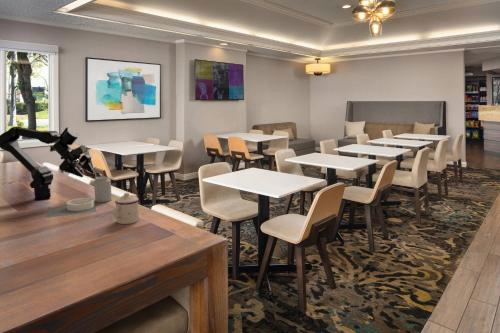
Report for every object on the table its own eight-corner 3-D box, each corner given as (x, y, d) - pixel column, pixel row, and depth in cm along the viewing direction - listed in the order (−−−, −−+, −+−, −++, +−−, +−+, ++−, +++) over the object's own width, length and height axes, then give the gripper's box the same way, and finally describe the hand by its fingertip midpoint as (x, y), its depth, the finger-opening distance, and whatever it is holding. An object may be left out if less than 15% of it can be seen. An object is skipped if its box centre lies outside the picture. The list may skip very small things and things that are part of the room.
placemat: (47, 218, 157) (47, 217, 157) (48, 208, 171) (48, 207, 171) (96, 212, 165) (96, 211, 165) (94, 203, 179) (94, 202, 179)
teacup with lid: (127, 216, 160) (126, 189, 158) (144, 219, 156) (143, 191, 154) (105, 224, 149) (103, 196, 147) (123, 228, 145) (121, 198, 143)
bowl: (67, 212, 164) (66, 205, 163) (67, 206, 174) (66, 199, 173) (95, 209, 168) (94, 202, 168) (93, 203, 178) (92, 197, 178)
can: (106, 203, 179) (104, 179, 177) (92, 203, 180) (90, 178, 178) (114, 199, 186) (113, 176, 184) (101, 199, 187) (99, 175, 185)
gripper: (62, 142, 171) (87, 166, 171) (86, 138, 189) (108, 160, 189) (48, 159, 173) (72, 183, 174) (73, 153, 192) (95, 175, 192)
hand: (88, 174), depth 182 cm, fingers open, 9 cm apart
